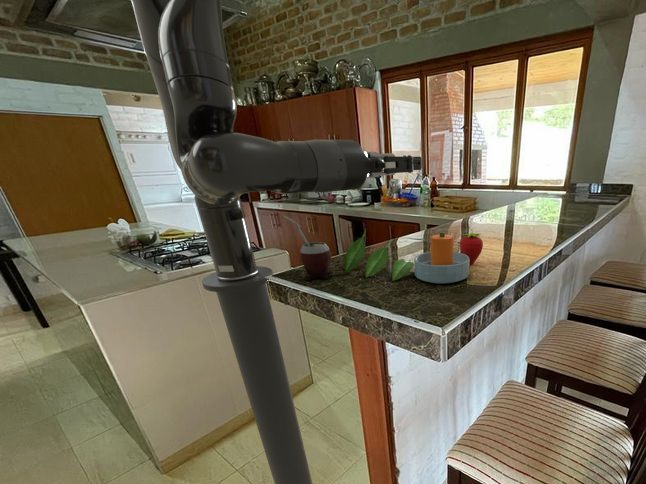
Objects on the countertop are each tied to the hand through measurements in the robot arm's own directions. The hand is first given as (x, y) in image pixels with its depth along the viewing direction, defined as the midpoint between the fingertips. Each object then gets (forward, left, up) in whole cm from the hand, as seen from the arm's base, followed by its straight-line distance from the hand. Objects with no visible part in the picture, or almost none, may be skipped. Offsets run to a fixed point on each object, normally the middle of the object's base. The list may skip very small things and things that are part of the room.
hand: (404, 163), depth 63 cm
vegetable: (+2, +11, -25) cm, 27 cm away
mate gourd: (-24, -7, -26) cm, 36 cm away
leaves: (-13, +4, -26) cm, 29 cm away
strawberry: (+2, +23, -26) cm, 34 cm away
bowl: (+1, +11, -25) cm, 28 cm away
